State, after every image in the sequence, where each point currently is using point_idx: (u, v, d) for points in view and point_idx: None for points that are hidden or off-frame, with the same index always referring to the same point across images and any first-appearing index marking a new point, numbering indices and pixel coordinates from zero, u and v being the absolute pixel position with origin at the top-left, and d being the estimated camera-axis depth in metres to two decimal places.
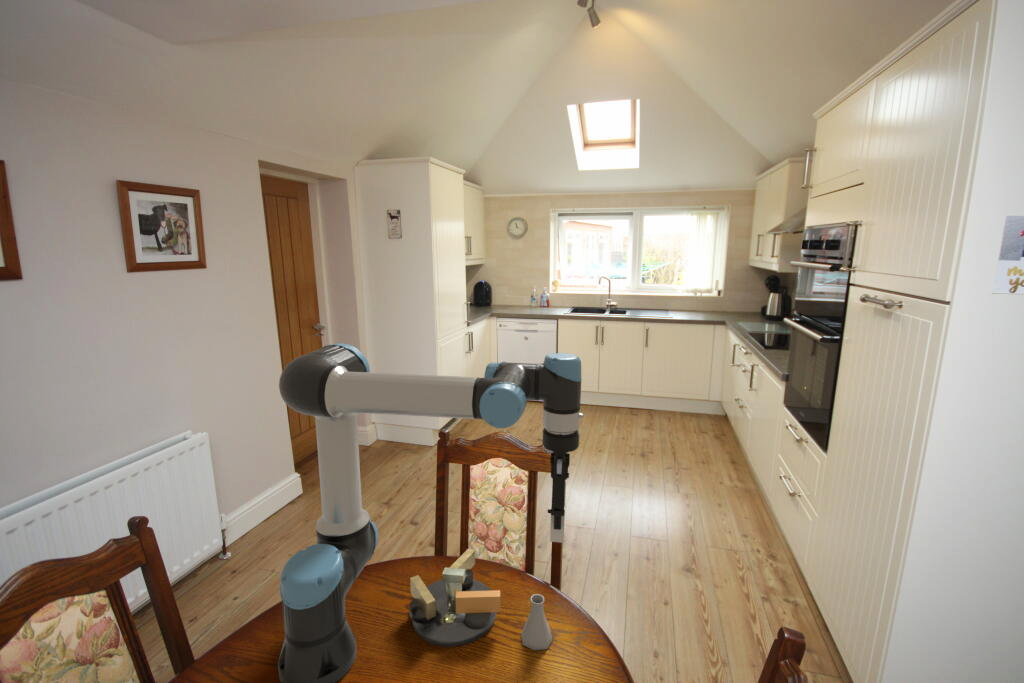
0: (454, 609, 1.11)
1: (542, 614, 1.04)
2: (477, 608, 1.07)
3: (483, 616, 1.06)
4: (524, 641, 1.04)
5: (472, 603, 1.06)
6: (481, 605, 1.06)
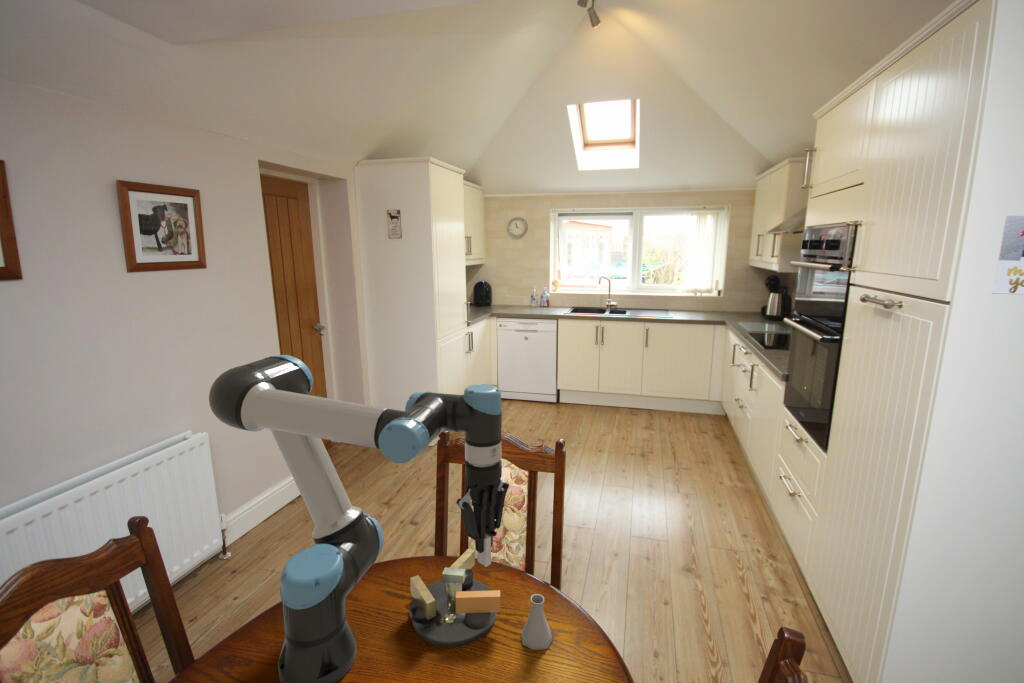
0: (454, 609, 1.11)
1: (542, 614, 1.04)
2: (477, 608, 1.07)
3: (483, 616, 1.06)
4: (524, 641, 1.04)
5: (472, 603, 1.06)
6: (481, 605, 1.06)
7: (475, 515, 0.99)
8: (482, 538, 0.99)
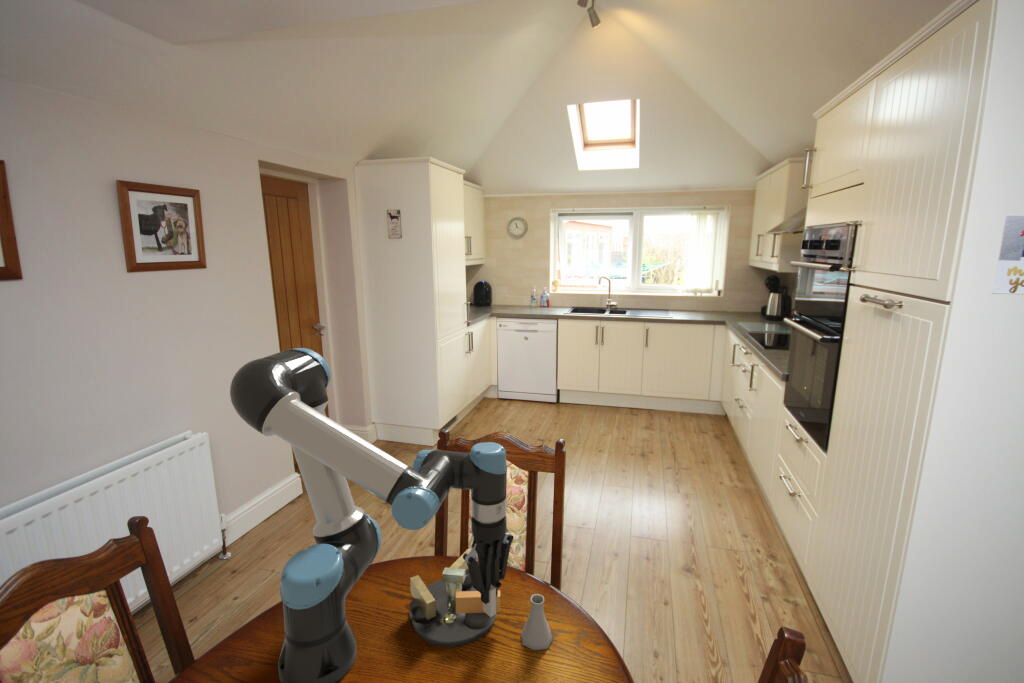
0: (454, 609, 1.11)
1: (542, 614, 1.04)
2: (477, 608, 1.07)
3: (483, 616, 1.06)
4: (524, 641, 1.04)
5: (472, 603, 1.06)
6: (481, 605, 1.06)
7: (481, 568, 1.02)
8: (487, 590, 1.02)
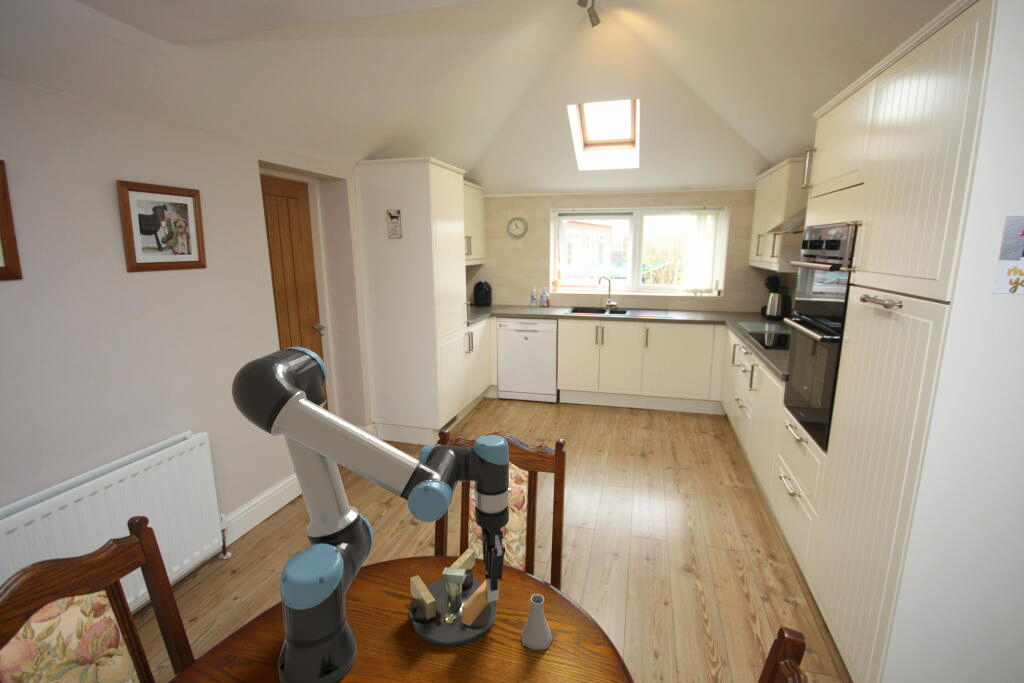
0: (454, 609, 1.11)
1: (542, 614, 1.04)
2: (481, 607, 1.07)
3: (489, 609, 1.08)
4: (524, 641, 1.04)
5: (478, 605, 1.06)
6: (483, 601, 1.08)
7: (492, 559, 1.05)
8: None
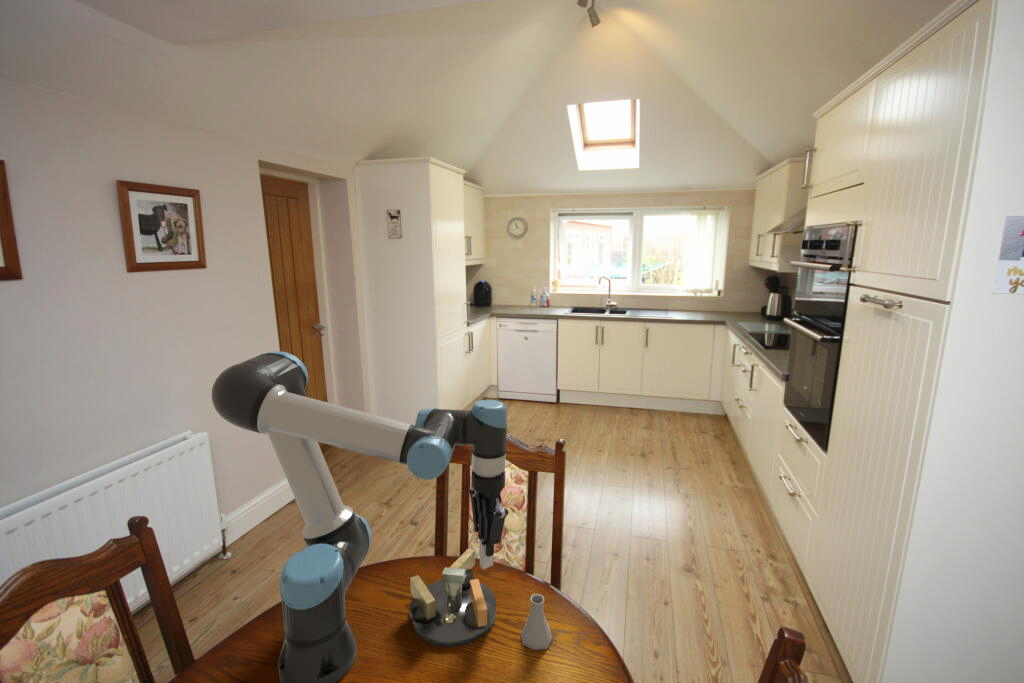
0: (454, 609, 1.11)
1: (542, 614, 1.04)
2: None
3: (486, 604, 1.09)
4: (524, 641, 1.04)
5: None
6: None
7: (489, 524, 1.05)
8: None
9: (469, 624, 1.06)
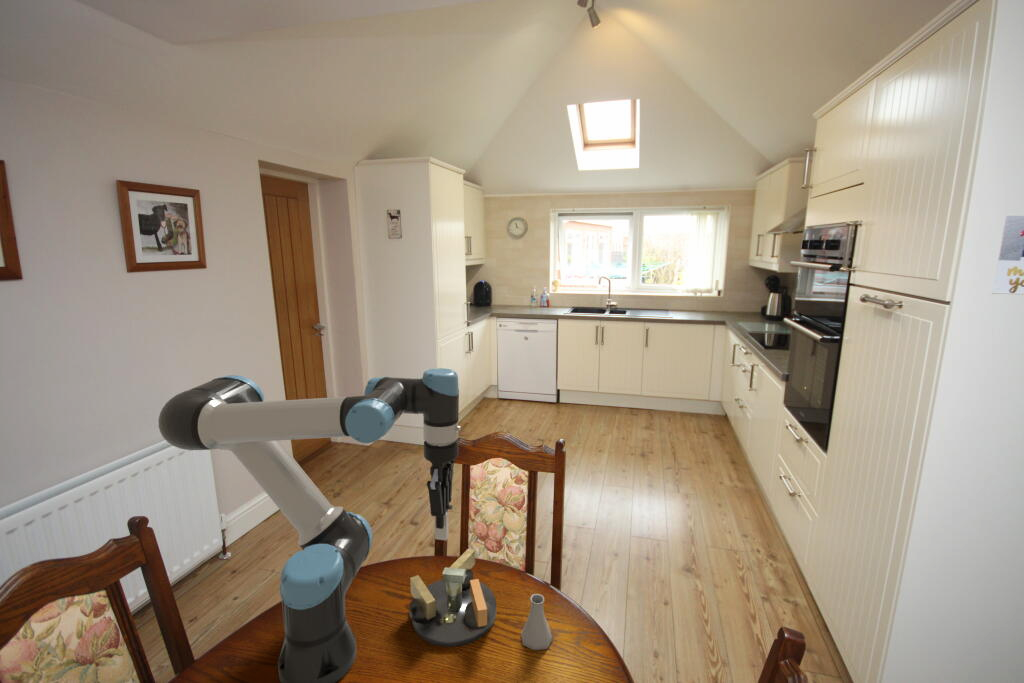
0: (454, 609, 1.11)
1: (542, 614, 1.04)
2: None
3: (486, 604, 1.09)
4: (524, 641, 1.04)
5: None
6: None
7: None
8: (444, 513, 1.04)
9: (469, 624, 1.06)
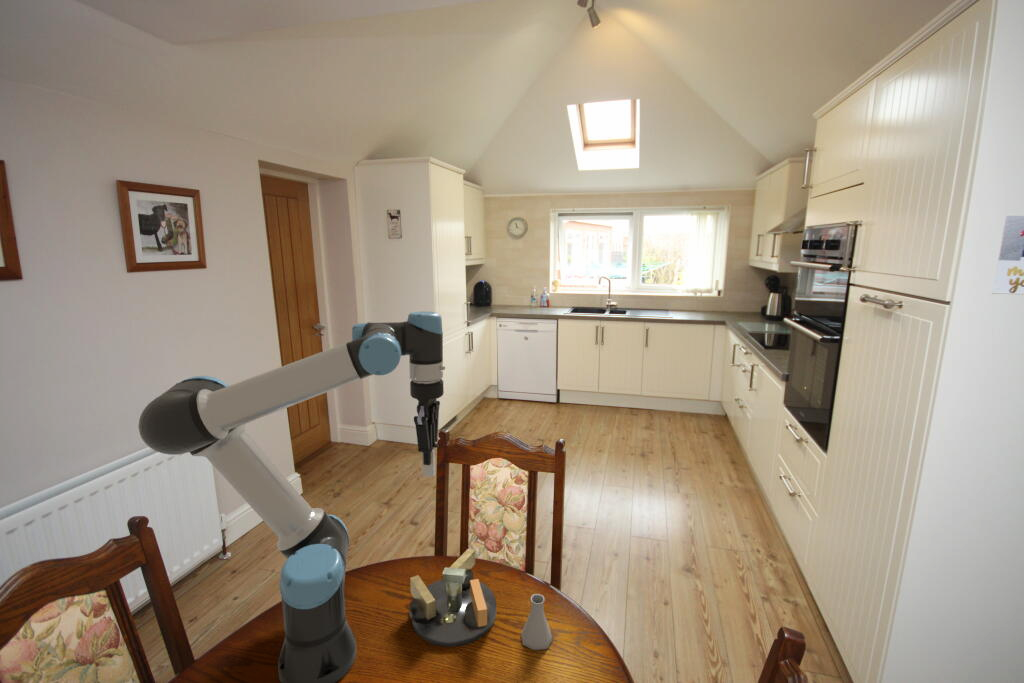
0: (454, 609, 1.11)
1: (542, 614, 1.04)
2: None
3: (486, 604, 1.09)
4: (524, 641, 1.04)
5: None
6: None
7: None
8: (431, 450, 1.10)
9: (469, 624, 1.06)
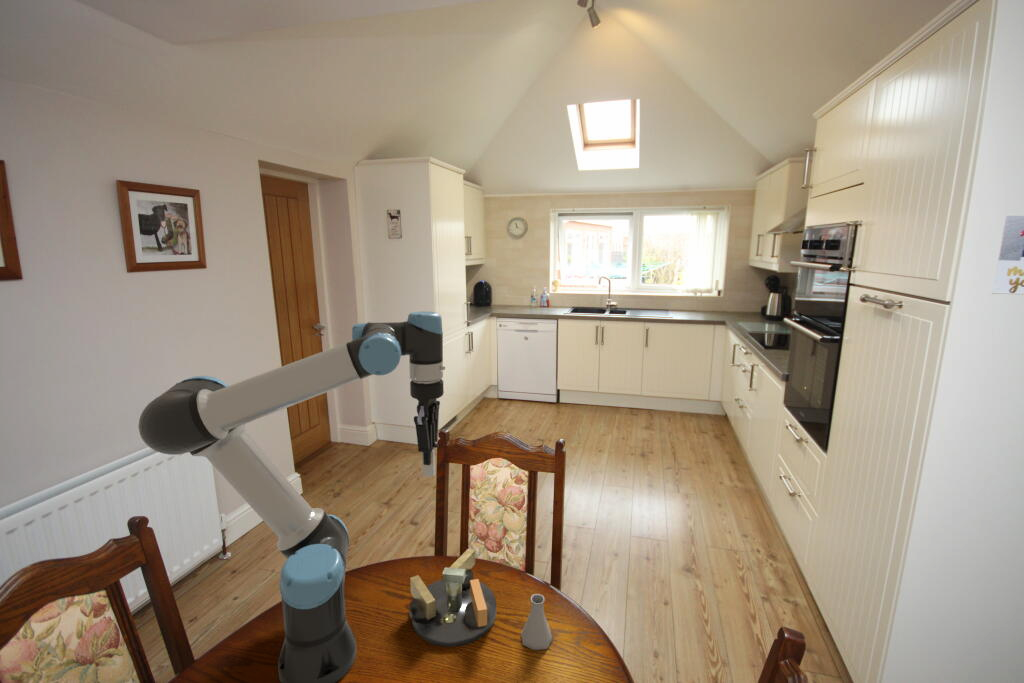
0: (454, 609, 1.11)
1: (542, 614, 1.04)
2: None
3: (486, 604, 1.09)
4: (524, 641, 1.04)
5: None
6: None
7: None
8: (431, 450, 1.10)
9: (469, 624, 1.06)
